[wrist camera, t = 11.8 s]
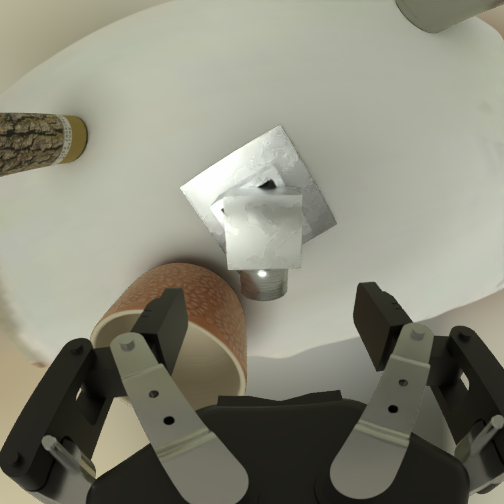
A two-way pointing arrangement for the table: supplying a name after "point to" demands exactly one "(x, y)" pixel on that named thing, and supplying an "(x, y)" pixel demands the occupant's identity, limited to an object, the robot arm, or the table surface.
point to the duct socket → (258, 183)
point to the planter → (190, 330)
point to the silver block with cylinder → (263, 238)
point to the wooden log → (38, 140)
